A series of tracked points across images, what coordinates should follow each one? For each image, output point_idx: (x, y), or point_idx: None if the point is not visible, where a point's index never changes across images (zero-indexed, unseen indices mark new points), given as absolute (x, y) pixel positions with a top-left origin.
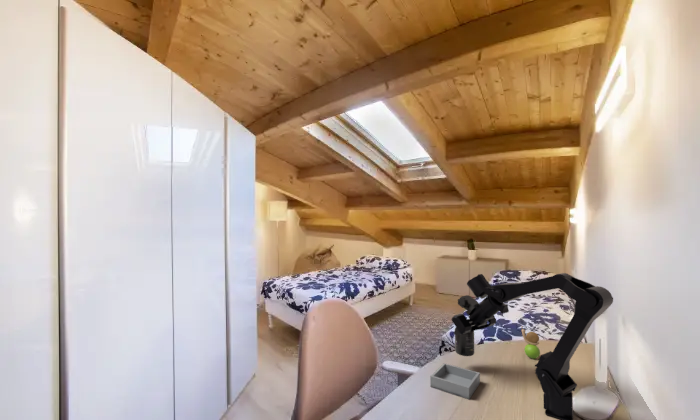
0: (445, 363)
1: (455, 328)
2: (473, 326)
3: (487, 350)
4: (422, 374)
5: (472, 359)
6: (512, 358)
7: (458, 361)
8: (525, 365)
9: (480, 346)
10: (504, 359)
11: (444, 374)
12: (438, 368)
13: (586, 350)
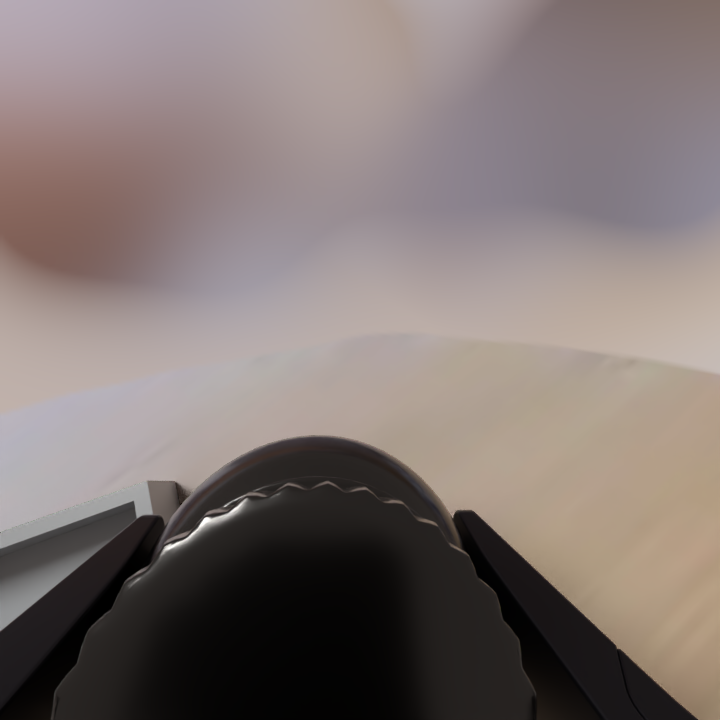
0: (146, 493)
1: (198, 494)
2: (538, 716)
3: (635, 423)
4: (53, 422)
5: (470, 453)
6: (699, 583)
7: (378, 425)
8: (709, 712)
9: (634, 368)
10: (643, 564)
11: (128, 516)
12: (19, 526)
13: None
